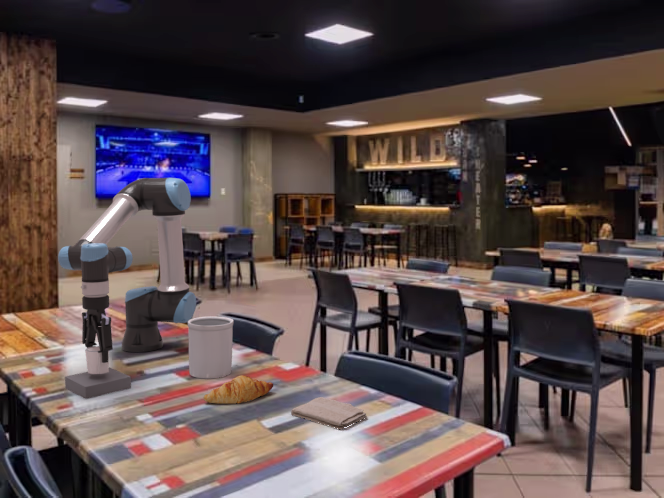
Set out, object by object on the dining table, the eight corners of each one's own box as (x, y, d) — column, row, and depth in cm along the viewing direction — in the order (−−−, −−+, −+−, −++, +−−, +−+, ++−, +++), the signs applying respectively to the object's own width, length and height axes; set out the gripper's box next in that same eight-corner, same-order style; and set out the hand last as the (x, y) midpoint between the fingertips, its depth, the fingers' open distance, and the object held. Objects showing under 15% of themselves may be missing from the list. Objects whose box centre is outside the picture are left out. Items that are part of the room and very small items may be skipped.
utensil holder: (242, 369, 202) (242, 318, 201) (216, 382, 189) (215, 327, 187) (206, 364, 209) (206, 314, 207) (178, 375, 195) (177, 322, 194)
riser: (109, 379, 192) (109, 367, 192) (131, 389, 183) (130, 376, 182) (65, 389, 182) (64, 376, 182) (85, 400, 172) (85, 387, 172)
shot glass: (101, 375, 178) (101, 352, 177) (80, 373, 179) (80, 350, 179) (114, 368, 185) (113, 346, 184) (94, 367, 186) (93, 345, 185)
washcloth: (343, 433, 150) (343, 421, 150) (288, 417, 161) (288, 405, 161) (369, 419, 160) (369, 408, 159) (316, 404, 170) (316, 394, 170)
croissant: (207, 419, 167) (211, 399, 163) (196, 394, 174) (200, 373, 170) (276, 404, 178) (281, 385, 174) (263, 381, 185) (268, 361, 181)
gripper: (68, 292, 184) (70, 366, 186) (99, 300, 170) (102, 379, 173) (92, 290, 189) (94, 361, 191) (124, 297, 176) (126, 374, 178)
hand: (97, 370), depth 182 cm, fingers closed on shot glass, 7 cm apart
